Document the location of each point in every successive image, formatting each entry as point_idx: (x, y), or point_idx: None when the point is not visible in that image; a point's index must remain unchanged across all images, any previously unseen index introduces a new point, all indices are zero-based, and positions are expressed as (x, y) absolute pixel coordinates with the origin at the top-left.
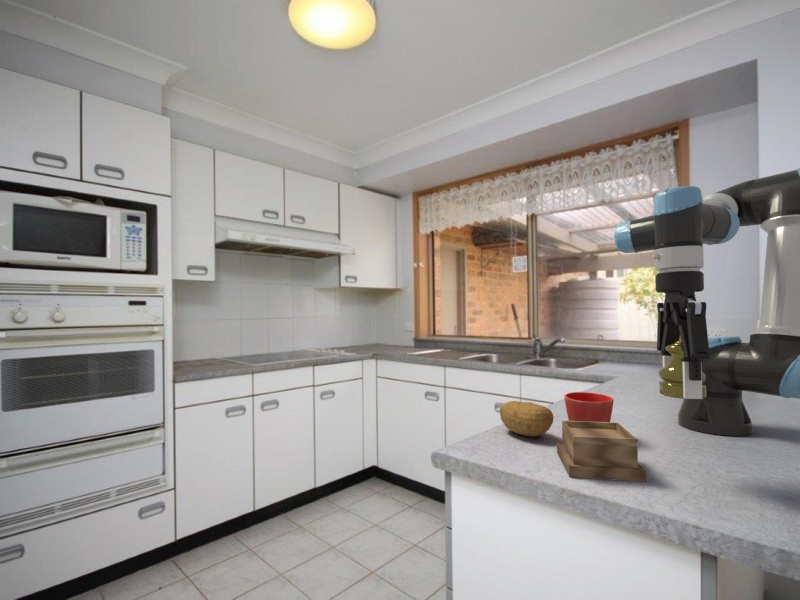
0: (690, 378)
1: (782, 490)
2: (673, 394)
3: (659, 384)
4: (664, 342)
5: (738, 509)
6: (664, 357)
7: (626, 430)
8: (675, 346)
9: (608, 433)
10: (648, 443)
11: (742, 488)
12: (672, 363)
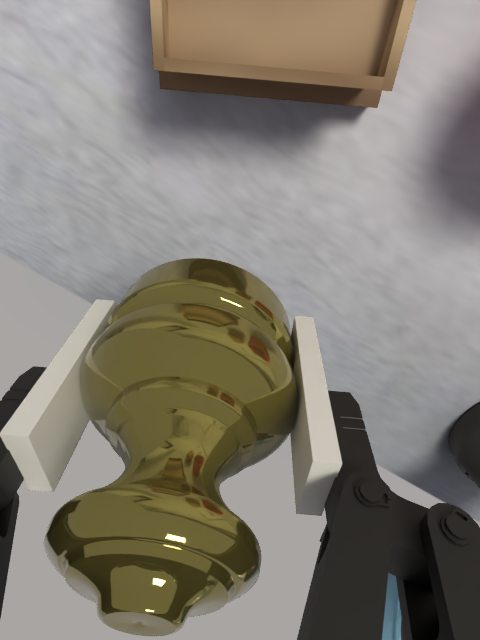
0: (40, 372)
1: None
2: (135, 282)
3: (221, 282)
4: (334, 591)
5: (70, 225)
6: (310, 453)
7: (272, 78)
8: (83, 547)
9: (315, 3)
10: (459, 241)
11: None
12: (153, 412)
